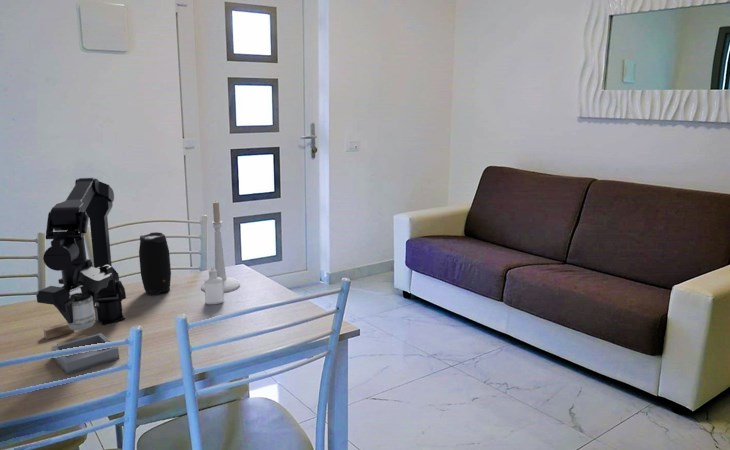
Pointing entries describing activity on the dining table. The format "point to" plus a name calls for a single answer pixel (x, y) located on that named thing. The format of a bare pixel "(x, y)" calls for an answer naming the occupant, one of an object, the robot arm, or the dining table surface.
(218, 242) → the candlestick
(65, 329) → the lens cradle
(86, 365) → the tray
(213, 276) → the eye dropper bottle
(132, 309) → the dining table surface
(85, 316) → the camera lens
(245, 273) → the dining table surface
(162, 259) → the portable speaker
